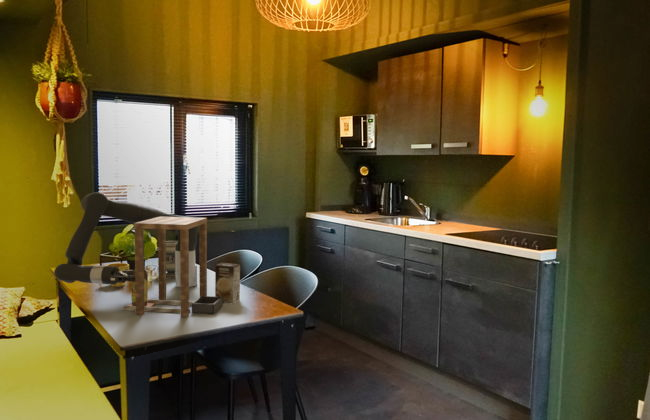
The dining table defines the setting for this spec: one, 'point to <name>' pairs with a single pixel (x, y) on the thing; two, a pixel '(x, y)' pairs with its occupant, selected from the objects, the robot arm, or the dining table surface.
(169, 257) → the apothecary jar
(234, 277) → the coffee box
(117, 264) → the plant pot
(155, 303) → the pad
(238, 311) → the dining table surface
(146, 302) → the sauce bottle
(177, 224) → the frame
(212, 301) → the box
